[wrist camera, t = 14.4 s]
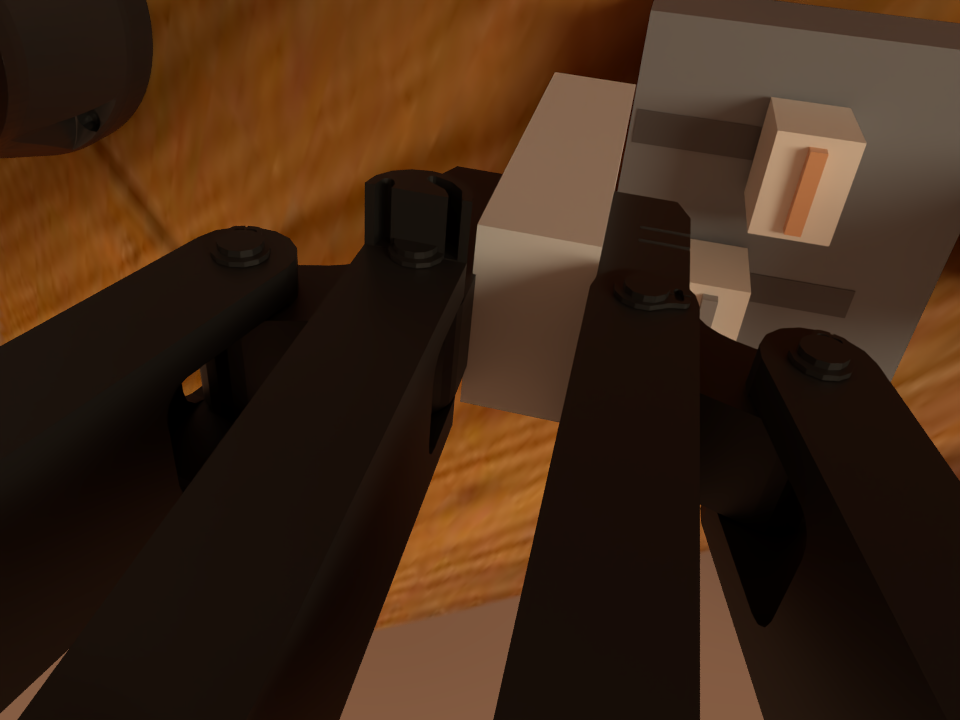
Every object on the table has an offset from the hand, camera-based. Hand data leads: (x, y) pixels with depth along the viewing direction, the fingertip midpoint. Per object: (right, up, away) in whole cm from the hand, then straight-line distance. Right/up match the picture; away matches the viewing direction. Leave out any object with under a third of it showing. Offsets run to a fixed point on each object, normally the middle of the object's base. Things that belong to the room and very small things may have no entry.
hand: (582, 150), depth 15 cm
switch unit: (+12, +2, +25) cm, 28 cm away
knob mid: (+8, 0, +21) cm, 23 cm away
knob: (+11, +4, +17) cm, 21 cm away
